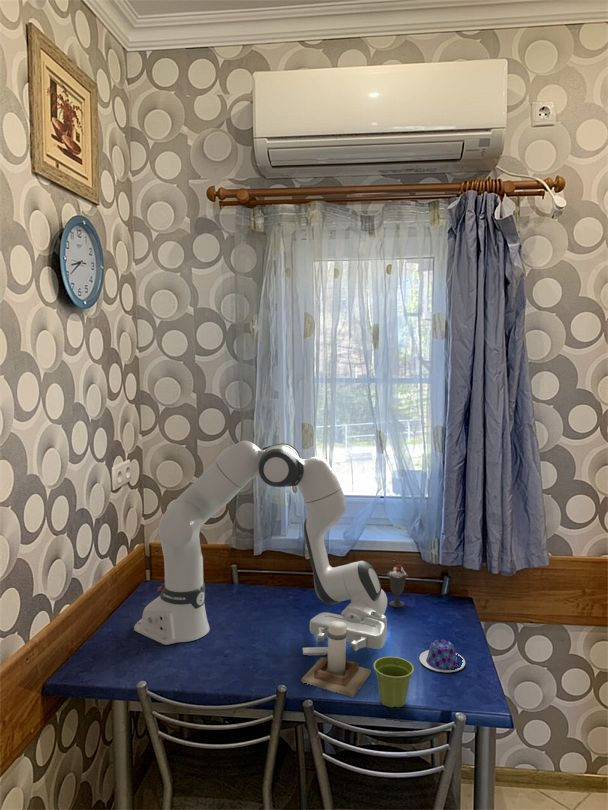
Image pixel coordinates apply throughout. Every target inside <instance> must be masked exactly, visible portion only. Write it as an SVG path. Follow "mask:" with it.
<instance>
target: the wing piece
mask: <svg viewBox="0 0 608 810" xmlns="http://www.w3.org/2000/svg"><path fill="white" fill-rule="evenodd" d="M302 654H303V655H308V656H327V655H326V654H328V646H314V647H312V646H311V647H302Z"/></svg>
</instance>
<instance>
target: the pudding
mask: <svg viewBox="0 0 608 810" xmlns="http://www.w3.org/2000/svg"><path fill="white" fill-rule="evenodd" d="M429 646H430V647H429V649H427V650H425V651H423V652H421V654H420V655H419V659H418V660H419V662H420V663H421V664H422V665H423V666H424V667H426V668H427V669H430V670H432V671H435V672H440V673H441V672H442V673H452V672H453V673H454V672H459V671H460V670H462V669H464V667H465V666H466V660H465V658H464V657H463V656H462V655H460V654H459V653H457V652H456V650H455V649H456V648H455V646H454V644H453V643H452V642H450V641H449V640H446V639H436V640H434V641H432V642H431V643H430V645H429ZM457 654H458V656H460V657H461V658H462V659H463V660H462V662H463V663H462V665H461V667H460V668H457V669H455V670H451V669H454V667H457V666H456V665H457V664H456V663H457V657H456V655H457ZM450 668H451V669H450ZM448 669H449V670H448Z"/></svg>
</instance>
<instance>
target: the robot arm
mask: <svg viewBox="0 0 608 810" xmlns="http://www.w3.org/2000/svg"><path fill="white" fill-rule="evenodd" d="M258 476H260V478H261V480H262V481H263V482H264V483H265V484H266V485H268V486H270V487H273V488H287V487H296V486H297V487H298V490H299V491H300V493H301V496H302V497H303V500H304V502H305V506H306V510H307V511H306V512H307V513H306V515H307V516H306V519H305V520H304V522H303V530H304V531H303V532H304V538H305V542H306V543H305V544H306V547H307V548H306V549H307V552H308V557H309V560H310V565H311V569H312V573H313V585H314V591H315V594H316V596H317V598H318V599H320V601H322V602H323V603H325V604H326V605H327V606H328V605H329V606H333V605H336V604H339V603H341V602H344V601H345V602H346V601H349V600H350V603H349V604H348V605H347V606H346V607H345V608H344V609H343V610H342V612H340V614H338V613H333V612H328V611H327V612H324V611H323V612H320V613H318V614H317V615H315V616H314V617H312V618H311V619H310V620H309V631H310V634H311V635H315V636H316V642H319V643H323V642H325V638H327V639H328V628H329V623H330V622H333V621H340V622H344V623H345V624H346V643H349V644H350V650H352V651H355V652H357V651H358V650H359V649H363V648H368V649H369V648H370V649H374V650H379V649H380V650H381V649H382V648H383V646H384V645H385V643H386V639H387V634H388V632H387V631H388V624H387V623H388V619H387V616H386V615H385V613H386V610H387V608H388V597H387V594H386V592H385V591H384V589H382V584H381V579H380V577H379V574H378V572H377V570H376V568H374V567H373V566H372V564H370V563H369V562H367V561H365V560H359V561H354V562H350V563H347V564H344V565H339V566H335V567H332V565H330V562H329V558H328V553H327V549H326V544H325V535H326V534H327V532H328V531H329V530H331V529H332V528H333V527H334V526H335V525H337V524H338V523H339V522H340V521H341V520H342V519H343V516H345V512H346V509H347V500H346V497H345V494H344V492H343V490H342V487H341V484H340V483H339V480H338V478H337V476H336V474H335V472H334V470H333V468H332V467H331V466H330V464H329V462H328V460H326V458H324V457H321V456H312V457H309V458H305V459H303V458H302V457H301V456H300V453H299V452H298V450H297V449H296V448H295V447H294V446H293V445H291V444H289V443H276V444H273V445H270V446H269V445H268V446H266V447H263V448H260V447H259V446H257V445H256V444H255V443H253V442H252V441H249V440H241V441H238V442H237V443H235V444H234V445H233V446H231V447H229V449H227V450H226V451H225V452H224V453H222V454H221V455H220V456H219V457H218V458H216V460H215V461H214V462H213V463H212V464H211V465H210V466H209V467H208V468H207V469H206V470H205V471H204V472H203V473H202V474H201V475H200V476H199V477H198V478H197V479H196V480H194V482H192V483H191V484H190V485H189V487H187V488H186V489H185V490H184V491H183V492H182V493H181V494H180V495H179V496H177V498H176V499H175V500H174V501H172V503H171V504H170V506H168V508H167V509H166V510H165V512H164V513H163V514H162V516H161V517H160V520H159V523H158V536H159V540H160V545H161V549H162V555H163V562H164V563H163V564H164V565H163V567H164V583H163V584H161V585H160V586H159V587H157V592H160V591H161V592H160V595H159V596H157V597H156V598H155V599H153V600H152V601H151V602H150V603H148V604H147V605H146V606H145V607H144V609H143V611H142V617H141V618H140V619H139V620H138V621H137V622H136V623H135V625H134V627H133V631H135V632H137V633H139V634H141V635H143V636H144V637H147V638H149V639H151V640H154V641H156V642H158V643H160V644H162V645H164V646H165V645H166V646H167V645H171V644H176V643H187V642H188V643H189V642H192V641H195V640H199V639H201V638H202V637H204V636H206V635H207V634H208V633H209V632H210V623H209V622H208V621H209V620H208V618H207V617H208V616H207V612H206V606H205V601H206V584H205V581H204V557H203V554H202V548H201V540H200V532H201V528H202V527H203V525H204V524H205V523H207V521H208V520H210V519H211V518H212V517H213V516H214V515H215V514H216V513H217V512H219V511H220V510H221V509H223V508H224V507H226V506H227V505H228V504H229V502H230V501H231V500H233V499H234V497H236V496H237V494H238V493H240V491H241V490H243V488H245V486H247V484H249V482H251V480H253V479H254V478H256V477H258Z"/></svg>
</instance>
